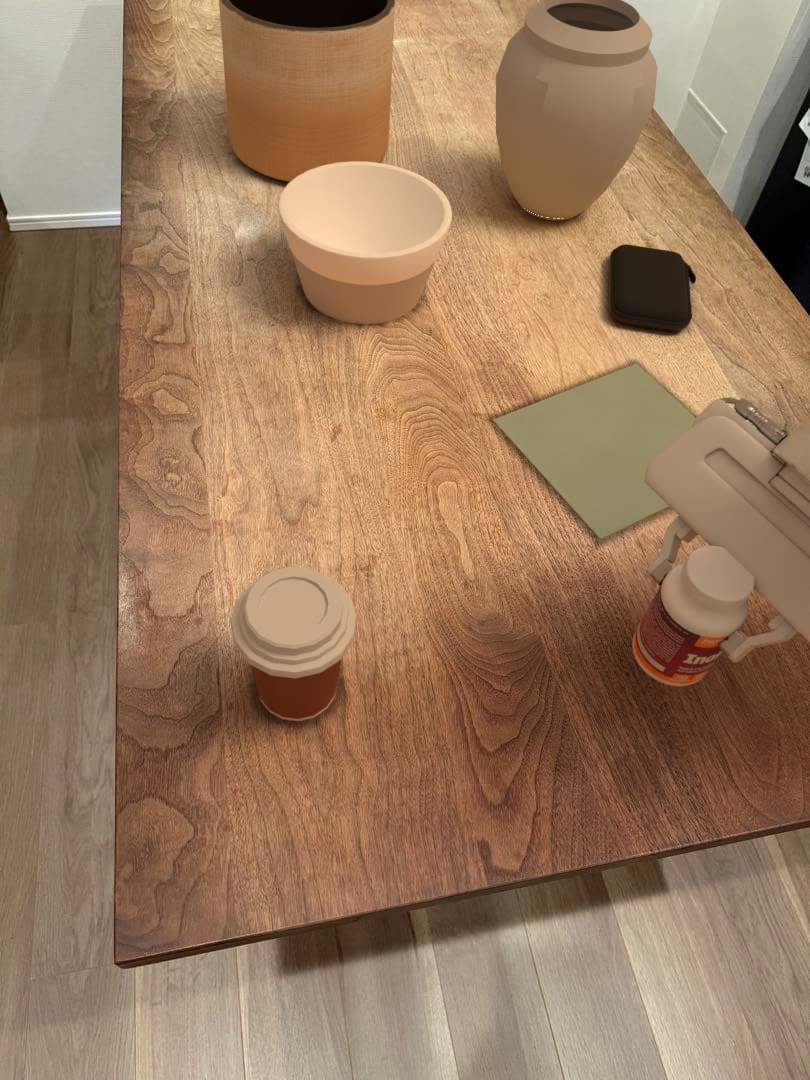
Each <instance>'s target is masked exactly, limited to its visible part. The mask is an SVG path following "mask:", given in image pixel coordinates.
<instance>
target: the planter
mask: <svg viewBox="0 0 810 1080" xmlns="http://www.w3.org/2000/svg"><path fill="white" fill-rule="evenodd" d="M218 7H219V18H220V19H219V20H220V31H221V45H222V56H223V57H222V61H223V74H224V85H225V86H224V87H225V100H226V101H225V102H226V116H227V128H228V137H229V143H230V146H231V149H232V151H233V153H234V155H235V156H236V157H237V158H238V159H239V160H240V161H241V162H242V163H243V164H244V165H246V166H247V167H249V168H250V169H252V170H253V171H255V172H257V173H259V174H260V175H263V176H265V177H267V178H269V179H272V180H276V181H280V182H282V183H283V182H284V183H287V184H288V183H290V182H291V181H292V180H293V179H294V178H296V177H297V176H299V175H301V174H302V173H304V172H306V171H308V170H311V169H314V168H317V167H320V166H323V165H328V164H333V163H339V162H351V161H358V162H375V163H382V160H383V159H384V158H385V156H386V154H387V152H388V151H387V150H388V146H389V140H390V125H391V123H390V122H391V121H390V120H391V101H392V99H391V97H392V75H393V74H392V73H393V54H394V52H393V51H394V36H395V35H394V31H395V15H396V0H218Z"/></svg>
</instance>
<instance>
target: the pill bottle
mask: <svg viewBox="0 0 810 1080" xmlns="http://www.w3.org/2000/svg"><path fill="white" fill-rule="evenodd" d="M676 565H677V566H676V567H674V568H673V569H672V570H671V571H670V572H669V573H668V574H667V576H666V577H665V579H664V580H663V582H662V584H661V585H659V588H658V589H657V591H656V593H655V595H654V597H653V598H652V600H651V602H650V604H649V605H648V607H647V609H646V611H645V613H644V614H643V616H642V618H641V620H640V622H639V623H638V625H637V627H636V630H635V631H634V633H633V637H632V653H633V655H634V659H635V660H636V662H637V664H638V665H639V667H640V668H641V669H642V670H643V671H644V672H645V673H646V674H647V675H648V676H649V677H650V678H652V679H654V680H655V681H657V682H659V683H662V684H664V685H667V686H672V687H688V686H691V685H693V684H696V683H698V682H699V681H701V680H703V678H704V677H705V676H706V675H707V674H708V673H709V672H710V670H711V668H713V666H714V665H715V663H716V662H717V660H718V659H719V657H720V656H721V655H722V654H723V653H724V652H723V651H722V650H721V649H720V648H719V647H718V646H719V645H720V644H721V643H722V642H723V641H724V640H728V637H729V635H730V634H732V633H733V632H734V631H735V630H738V631H740V629H741V627H742V626H743V624H744V623H745V621H746V620H747V617H748V614H749V609H750V601H749V597H750V595H751V593H752V592H753V590H754V588H753V587H754V577H753V576H752V575H751V574H750V573H749V572H748V571H747V570H746V569H745V568H744V567H743V566H742V565H741V564H740V563H739V562H738V561H737V560H736V559H735V558H734V557H733V556H732V555H731V554H730V553H729V552H728V551H727V550H726V549H725V548H723V547H719V546H710V545H706V546H702V547H699V548H697V549H695V550H694V551H693V552H692V553H691V554H690V555H689V556H688V558H686V561H684V562H682V563H679V564H676Z"/></svg>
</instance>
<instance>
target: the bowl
mask: <svg viewBox="0 0 810 1080" xmlns="http://www.w3.org/2000/svg"><path fill="white" fill-rule="evenodd" d="M277 204H278V208H277V209H278V215H279V219H280V221H281V224H282V228H283V231H284V234H285V237H286V241H287V244H288V246H289V249H290V252H291V255H292V259H293V262H294V265H295V268H296V270H297V271H296V272H297V274H298V277H299V281H300V283H301V287H302V290H303V293H304V296H305V297H306V299H307V301H308V302H309V303H310V304H311V305H312V306H313V307H314V308H315V309H316V310H317V311H319V312H320V313H322V314H323V315H326V316H327V317H329V318H332V319H335V320H337V321H341V322H345V323H350V324H356V325H357V324H358V325H375V324H383V323H388V322H391V321H395V320H397V319H399V318H402V317H404V316H405V315H406V314H408V313H409V312H411V311H412V310H413V309H414V308H415V307H416V306H417V305H418V303H419V301H420V299H421V297H422V295H423V292H424V290H425V288H426V285H427V283H428V280H429V277H430V275H431V272H432V270H433V267H434V265H435V263H436V260H437V258H438V256H439V255H440V252H441V249H442V247H443V244H444V243H445V240H446V237H447V235H448V232H449V230H450V229H451V225H452V223H453V222H452V221H453V211H452V207H451V203H450V201H449V199H448V198H447V196H446V195H445V193H444V192H443V191H442V190H441V189H440V188H439V187H438V186H437V185H436V184H434V183H433V182H432V181H431V180H429V179H427V178H426V177H424V176H422V175H420V174H418V173H416V172H414V171H412V170H408V169H406V168H403V167H400V166H396V165H391V164H387V163H382V162H380V163H375V162H358V161H351V162H339V163H333V164H328V165H323V166H320V167H317V168H314V169H311V170H308V171H306V172H304V173H302V174H301V175H299V176H297V177H296V178H294V179H293V180H292V181H291V182H290V183H287V184H286V185H285V187H284V188H283V190H282V191H281V194H280V197H279V200H278V202H277Z"/></svg>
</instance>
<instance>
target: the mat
mask: <svg viewBox="0 0 810 1080" xmlns="http://www.w3.org/2000/svg"><path fill="white" fill-rule="evenodd" d="M696 418H697V417H695V415H693V414H692V413H691V412H690V411H689V410H688V409H687V408H685V406H683V404H681V403H680V402H679V401H678V400H677V399H676V398H675V397H674V396H673V395H671V394H670V393H669V392H668V390H666V389H665V388H664V387H663V386H662V385H661V384H660V383H659V382H657V380H655V378H654V377H652V376H651V375H650V374H649V373H648V372H646V370H644V369H643V368H642V367H641V366H640V365H639V364H638V363H634V364H631V365H629V366H626V367H624V368H621V369H619V370H617V371H613V372H611V373H609V374H605V375H603V376H601V377H599V378H596V379H593V380H591V381H588V382H585V383H582V384H580V385H578V386H575V387H572V388H571V389H568V390H565V391H563V392H560V393H558V394H557V393H556V394H555V395H552V396H550V397H548V398H545V399H542V400H539V401H537V402H534V403H531V404H529V405H527V406H524V407H521V408H519V409H516V410H513V411H512V412H509V413H506V414H503V415H500V416H499V417H497V418H493V419H492V421H493V423H494V424H495V425H496V426H497V427H498V428H499V430H500V431H501V432H502V433H503V434H504V435H505V436H506V437H507V438H508V440H509V441H510V442H511V443H512V444H513V445H514V446H515V447H516V449H518V451H520V453H521V454H522V455H523V456H524V457H525V458H526V459H527V460H528V462H529V463H530V464H531V465H532V466H533V467H534V468H535V469H536V470H537V472H538V473H539V474H540V475H541V477H543V478H544V480H545V481H547V483H548V484H549V485H550V486H551V487H552V488H553V489H554V490H555V492H556V493H557V494H558V495H559V496H560V497H561V498H562V499H563V500H564V502H565V503H566V504H567V505H568V506H569V507H570V508H571V509H572V511H574V513H575V514H576V515H577V516H578V517H579V518H580V519H581V520H582V522H583V523H584V524H585V525H586V526H587V527H588V528H589V529H590V530H591V531H592V533H593V534H594V535H595V536H596V537H597V538H598V539H599V540H603V539H605V538H607V537H609V536H611V535H613V534H616V533H617V532H620V531H621V530H623V529H625V528H628V527H630V526H632V525H634V524H636V523H638V522H641V521H642V520H644V519H647V518H649V517H651V516H653V515H655V514H658V513H659V512H662V511H663V510H665V509H667V508H670V507H669V506H668V505H667V504H666V503H665V502H664V501H663V500H662V499H661V498H660V497H659V496H658V495H657V494H656V493H655V492H654V491H653V490H652V489H651V488H650V487H649V486H648V485H647V484H646V483H645V481H644V478H645V471H646V466H647V465H648V463H649V462H650V461H651V460H652V459H653V458H654V457H655V456H657V455H658V454H659V453H660V452H661V451H662V450H663V449H664V448H666V447H667V446H668V445H669V444H670V443H672V442H673V441H674V440H675V439H677V438H678V437H679V436H680V435H682V434H683V433H684V432H686V431H687V430H689V429H690V428H691V427H692V425H693V422H694V421H695V419H696Z"/></svg>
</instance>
